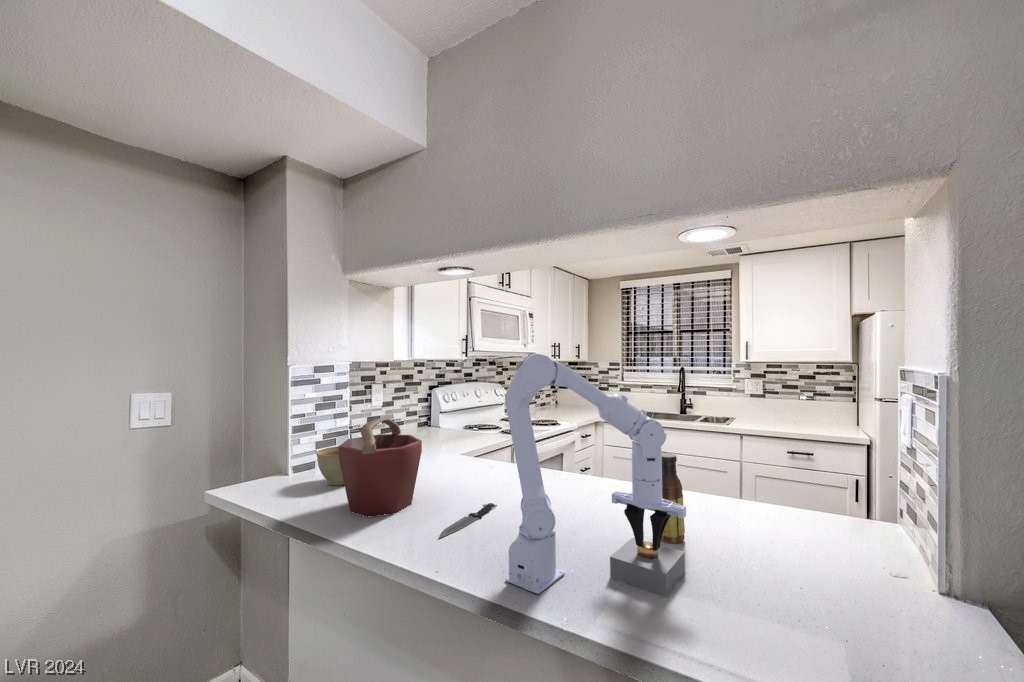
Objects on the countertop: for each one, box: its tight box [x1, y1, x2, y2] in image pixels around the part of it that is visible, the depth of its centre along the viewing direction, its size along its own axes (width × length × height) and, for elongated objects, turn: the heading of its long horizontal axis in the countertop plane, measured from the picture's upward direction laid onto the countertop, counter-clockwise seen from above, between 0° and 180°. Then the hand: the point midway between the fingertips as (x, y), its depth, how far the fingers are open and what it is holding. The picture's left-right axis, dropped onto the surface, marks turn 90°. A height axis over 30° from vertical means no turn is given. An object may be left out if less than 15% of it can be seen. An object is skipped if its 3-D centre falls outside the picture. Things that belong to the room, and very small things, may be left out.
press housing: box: [609, 537, 686, 597], centre depth 87 cm, size 11×11×4 cm
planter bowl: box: [316, 445, 345, 486], centre depth 150 cm, size 16×16×11 cm
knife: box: [438, 502, 498, 539], centre depth 115 cm, size 26×1×5 cm
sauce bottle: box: [661, 452, 686, 544], centre depth 103 cm, size 6×6×20 cm
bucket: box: [338, 417, 423, 518], centre depth 127 cm, size 24×22×25 cm
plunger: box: [637, 540, 658, 559], centre depth 87 cm, size 4×4×6 cm
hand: (647, 545), depth 87 cm, fingers open, 3 cm apart
